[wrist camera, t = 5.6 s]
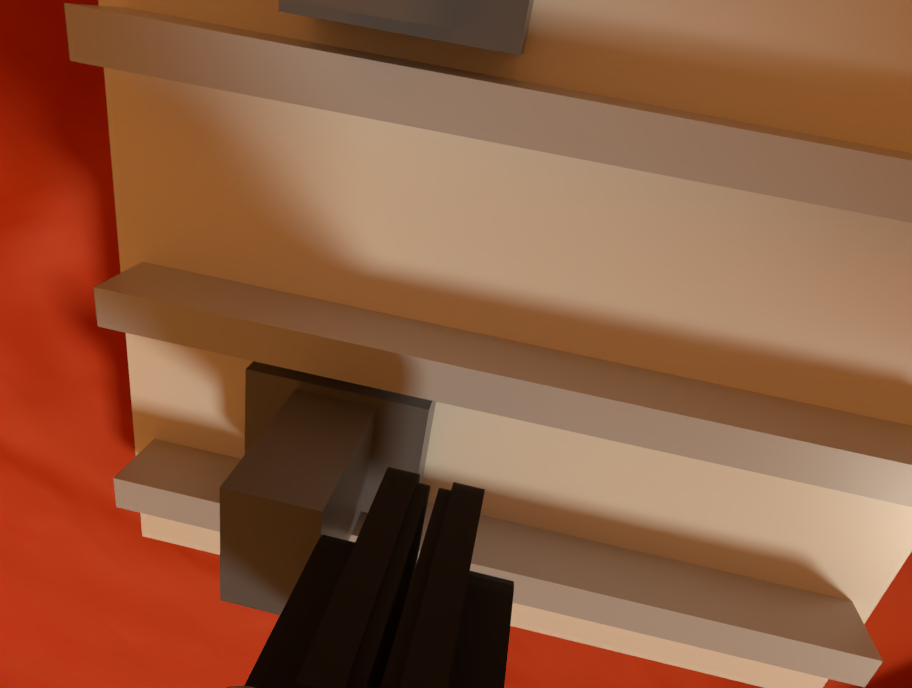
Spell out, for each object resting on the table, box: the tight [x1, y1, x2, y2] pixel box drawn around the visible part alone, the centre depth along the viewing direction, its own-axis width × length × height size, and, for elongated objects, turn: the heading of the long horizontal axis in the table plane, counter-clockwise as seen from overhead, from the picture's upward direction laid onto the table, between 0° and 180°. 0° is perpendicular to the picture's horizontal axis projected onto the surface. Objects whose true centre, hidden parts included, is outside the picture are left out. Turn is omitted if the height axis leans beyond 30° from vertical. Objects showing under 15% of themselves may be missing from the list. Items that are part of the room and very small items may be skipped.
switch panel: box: [64, 0, 912, 688], centre depth 12 cm, size 17×19×4 cm
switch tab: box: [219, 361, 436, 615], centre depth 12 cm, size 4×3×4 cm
